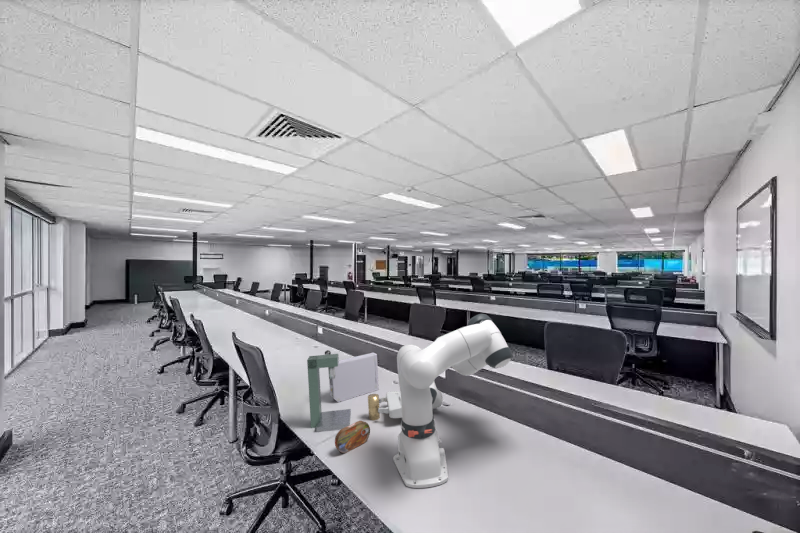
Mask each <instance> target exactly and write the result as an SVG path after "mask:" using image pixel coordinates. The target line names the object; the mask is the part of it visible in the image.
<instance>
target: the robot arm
mask: <svg viewBox="0 0 800 533" xmlns="http://www.w3.org/2000/svg"><path fill="white" fill-rule="evenodd" d="M513 357H514V356H513V352H512V350H511V348H510V347H509V345H508V344H507V342H506V339H505V338H504V336H503V335H502V332H501V331H500V329H499V328H498V327H497V325H496V324H495V323H494V322H493V319H492V318H491V317H490V316H489V315H487V314H485V313H478V314H476V315H474V316H473V317H471V318H470V319H469V320H468V321H467V325H466V326H462V327H460V328H457V329H456V330H453V331H450V332H448V333H446V334H442V335H441V336H438V337H437V338H436V339H435V340H434V341H433V342H432V343H430V344H429V345H427V346H426V347H424V348H421V347H419V346H418V345H415V344H405V345H402V346H401V347H400V348H399V350H398V352H397V354H396V363H397V364H396V367H397V376H398V385H399V386H398V387H399V391H387V392H386V393H385V396H382V397H379V404H382V403H387V406H386V407H382V406H379V408H378V412H379V413H380V414H381V413H384V414H389V415H388V416H389V418H391V419H401V420H400V428H401V430H400V433H398V435H397V453H396V454H395V455H394V456H393V457H392V458H393V459H392V460H393V463H394V465H395V467H396V469H397V470H398V473H399V474H400V477H401V478H402V481H403V483H404V485H405V486H406V487H409V488H411V489H412V488H414V489H424V488H431V487H436V486H440V485H443V484H445V483H447V482H448V481H449V475H448V474H449V472H448V466H447V457H446V451H445V448H444V447H441V446H439V444H441V443H442V440H441V438H439V431H438V430H437V428H436V423H435V418H434V414H433V412H434V411H433V410H436V409H439V408H441V407H442V404H443V394H442V391H441V390H439V389H438V388H437V386H436V383H435V379H437V377H439V376H440V375H441V374H443V373H444V372H446V371H447V370H448V369H449V368H453V370H454V371H455V372H457V373H458V374H460V375H461V376H465V377H466V376H467V377H468V376H471V375H474V374H475V373H477V372H479V371H480V370H482V369H483V368H485V367H486V366H489V368H492V369H499V368H504V367H506V366H507V365H508V364H510V362H511V361H512V359H513Z"/></svg>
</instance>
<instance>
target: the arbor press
mask: <svg viewBox="0 0 800 533" xmlns="http://www.w3.org/2000/svg"><path fill="white" fill-rule="evenodd" d="M339 360H340V358H339V353H332V352H331V350H325V351H324V354H321V355H309V356H308V358H307V360H306V363H307V364H306V365H307V378H308V379H307V380H308V383H307V384H308V397H309V401H308V402H309V417H310V429H316V431H315V432H316V433H319V432H328V431H338V430H339V431H340V430H341V429H343V428H345V427H347V426H349V425H351V418H352V417H351V416H352V412H351V411H352V409H351V408H348V409H346V408H345V409H338V410H328V411H322V394H321V392H322V391H321V377H320V376H321V374H320V369H323V368H325V369H326V368H328V380H329V379H335V378H336V375H335V367H337V366H338V364H339Z"/></svg>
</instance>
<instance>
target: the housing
mask: <svg viewBox="0 0 800 533" xmlns="http://www.w3.org/2000/svg"><path fill="white" fill-rule="evenodd" d="M379 398H380V397H379V394H378V393H369V394H368V395H367V406H368V409H367V410H368V419H369V421H377V420H379V419H380V418H381V413H379V412H378V408H379V407H380V403H379Z"/></svg>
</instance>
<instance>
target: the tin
mask: <svg viewBox="0 0 800 533" xmlns="http://www.w3.org/2000/svg"><path fill="white" fill-rule="evenodd" d="M370 435H371V427H370V424H369V423H368V422H366V421H362V420H357V421H355V422H353V423H350V425H349V426H347V427H345V428H343V429H339V431H338V432H337V434H336V435H335V438H334V445H335V448H336V450H338V451H339V452H340V453H342V454H347V453H349V452H352V451H353V450H354V449H356V448H358V447H361V446H362V445H364V444H365V443H366V442H367V441H368V440H369V437H370Z"/></svg>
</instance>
